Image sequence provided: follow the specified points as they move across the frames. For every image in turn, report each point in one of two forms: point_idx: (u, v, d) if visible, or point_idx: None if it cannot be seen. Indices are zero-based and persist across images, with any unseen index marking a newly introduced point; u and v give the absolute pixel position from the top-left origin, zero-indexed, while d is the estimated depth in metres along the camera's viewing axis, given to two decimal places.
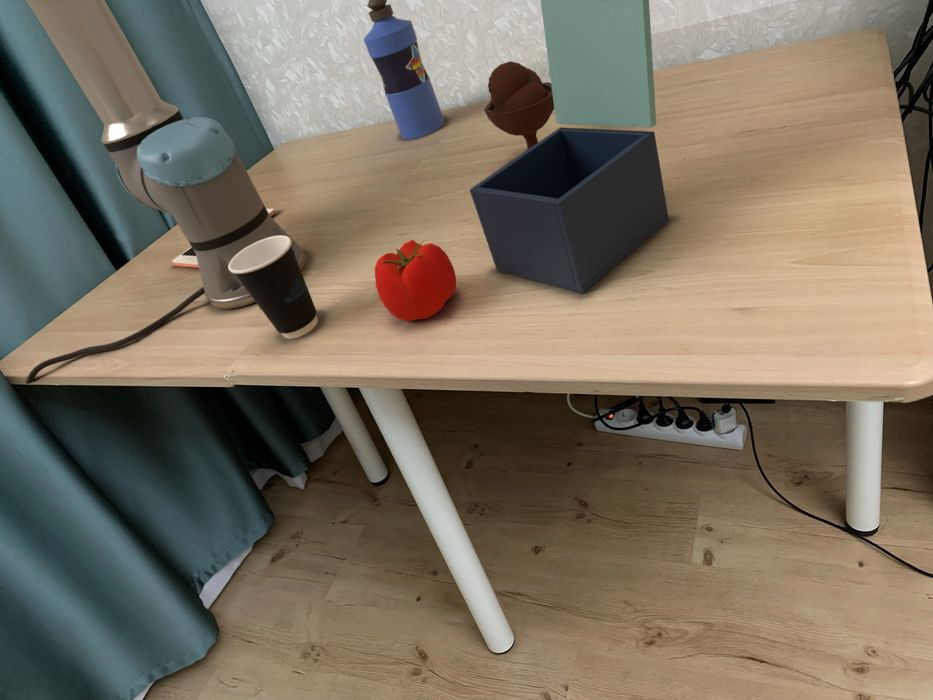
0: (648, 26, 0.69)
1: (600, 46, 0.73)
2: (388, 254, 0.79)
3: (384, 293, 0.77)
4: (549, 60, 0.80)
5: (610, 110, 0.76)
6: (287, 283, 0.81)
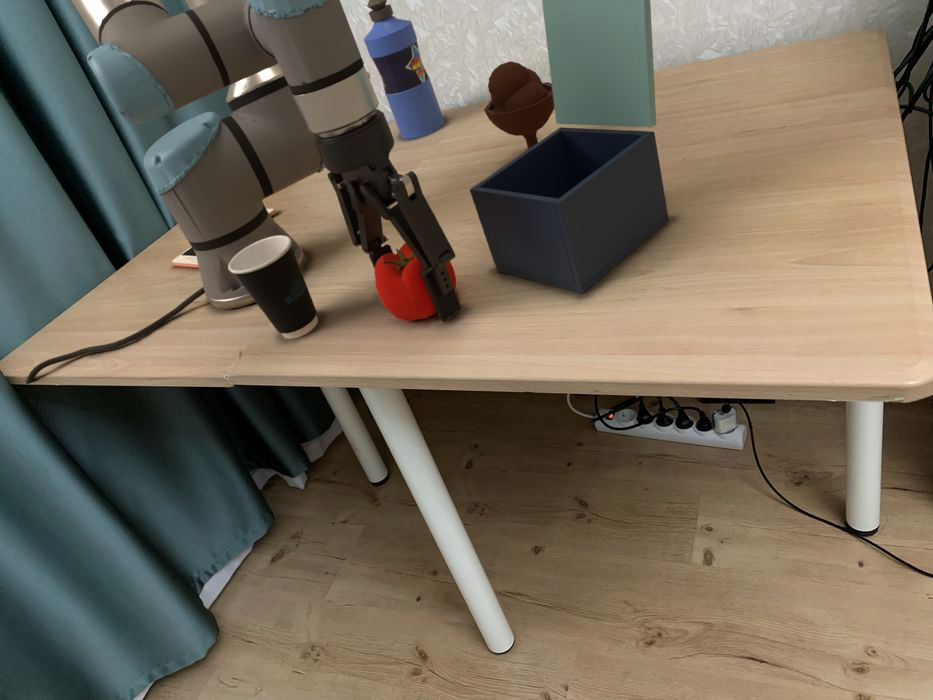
0: (649, 26, 0.69)
1: (601, 46, 0.74)
2: (388, 254, 0.79)
3: (384, 293, 0.77)
4: (550, 60, 0.80)
5: (610, 110, 0.76)
6: (287, 283, 0.81)
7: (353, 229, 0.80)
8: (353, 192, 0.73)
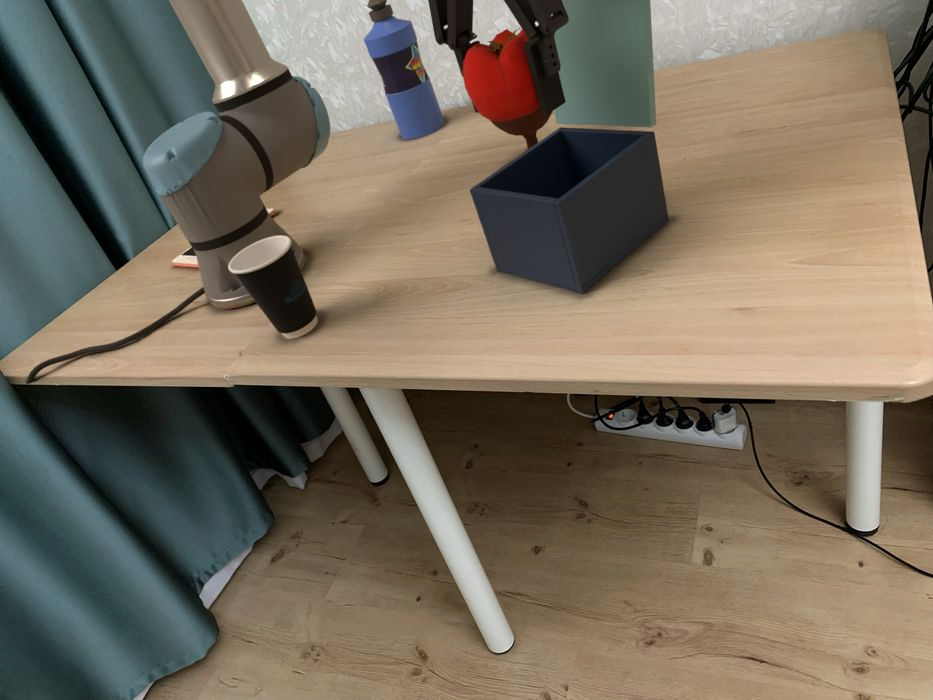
0: (649, 26, 0.69)
1: (601, 46, 0.74)
2: None
3: (477, 82, 0.67)
4: None
5: (610, 110, 0.76)
6: (287, 283, 0.81)
7: (439, 19, 0.70)
8: None
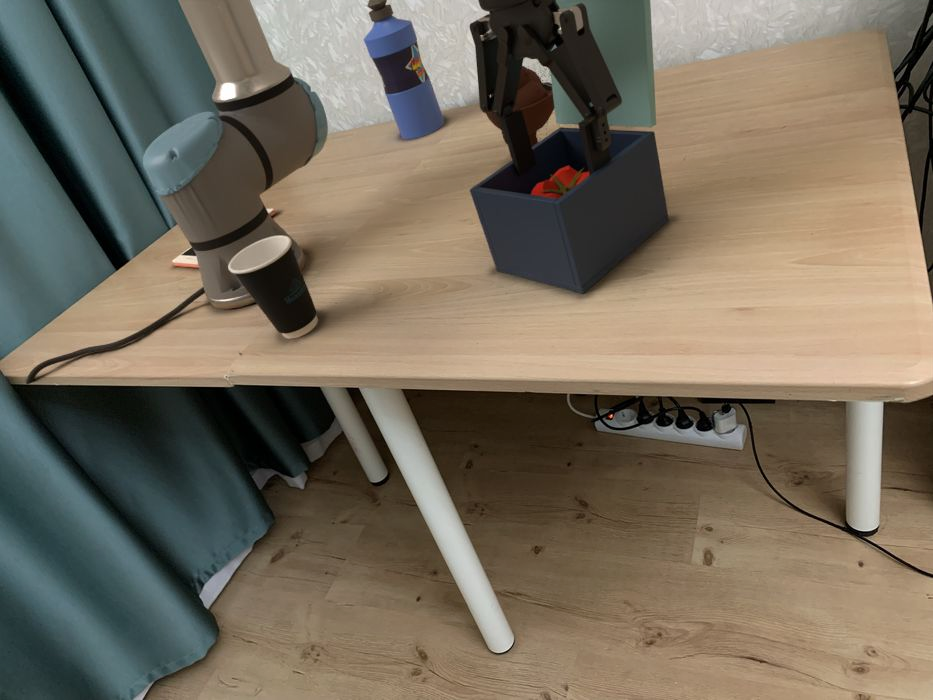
0: (649, 26, 0.69)
1: (601, 46, 0.74)
2: (546, 182, 0.77)
3: None
4: None
5: None
6: (287, 283, 0.81)
7: (486, 91, 0.76)
8: (506, 39, 0.68)
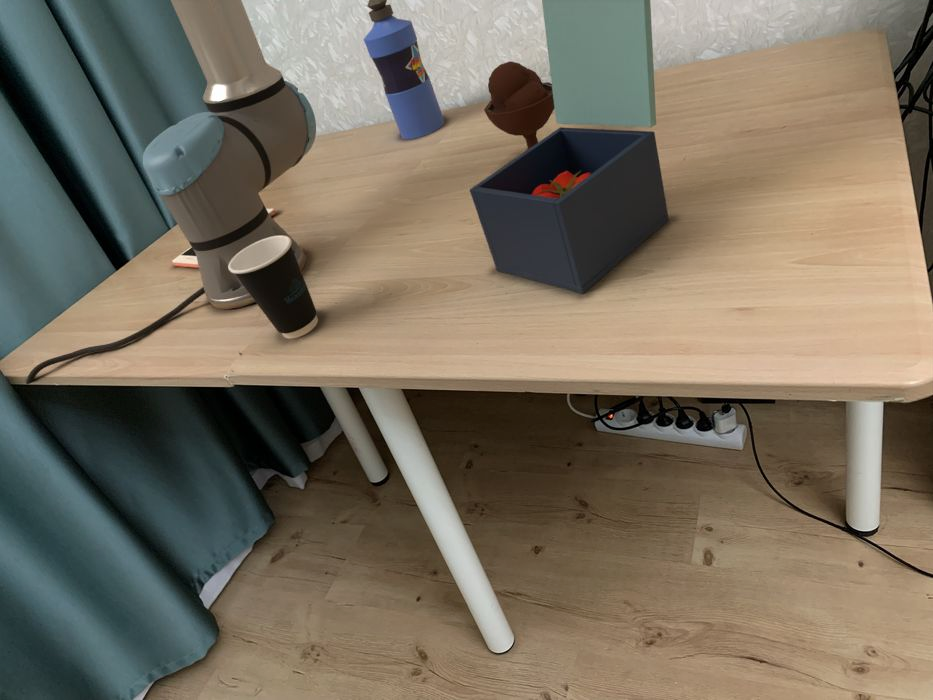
0: (649, 26, 0.69)
1: (601, 46, 0.74)
2: (544, 184, 0.79)
3: None
4: (550, 60, 0.80)
5: (610, 110, 0.76)
6: (287, 283, 0.81)
7: None
8: None
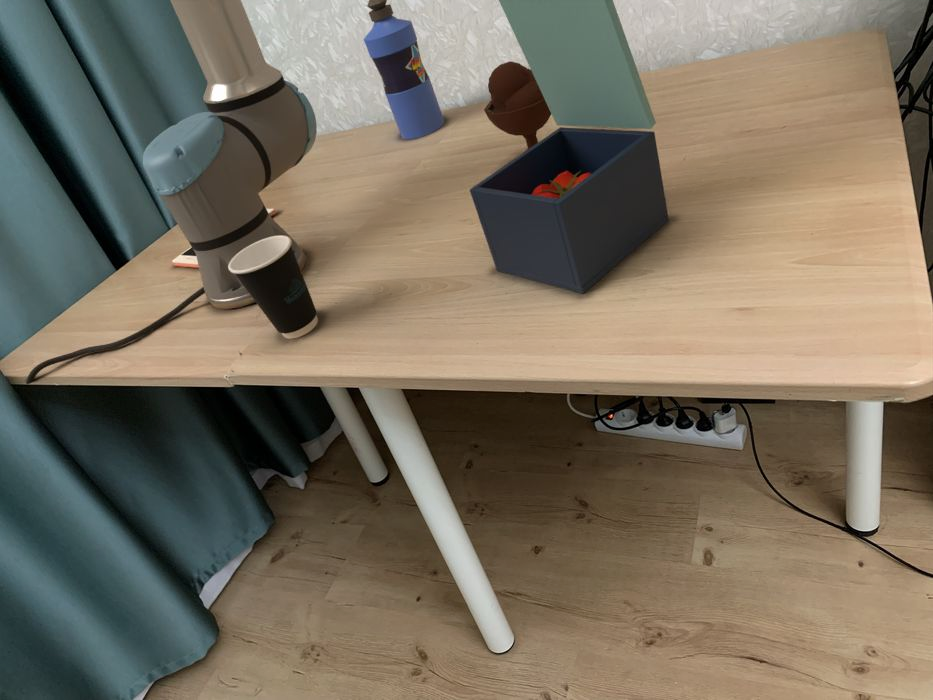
0: (625, 42, 0.67)
1: (581, 62, 0.72)
2: (544, 184, 0.79)
3: None
4: (533, 73, 0.79)
5: (607, 115, 0.76)
6: (287, 283, 0.81)
7: None
8: None
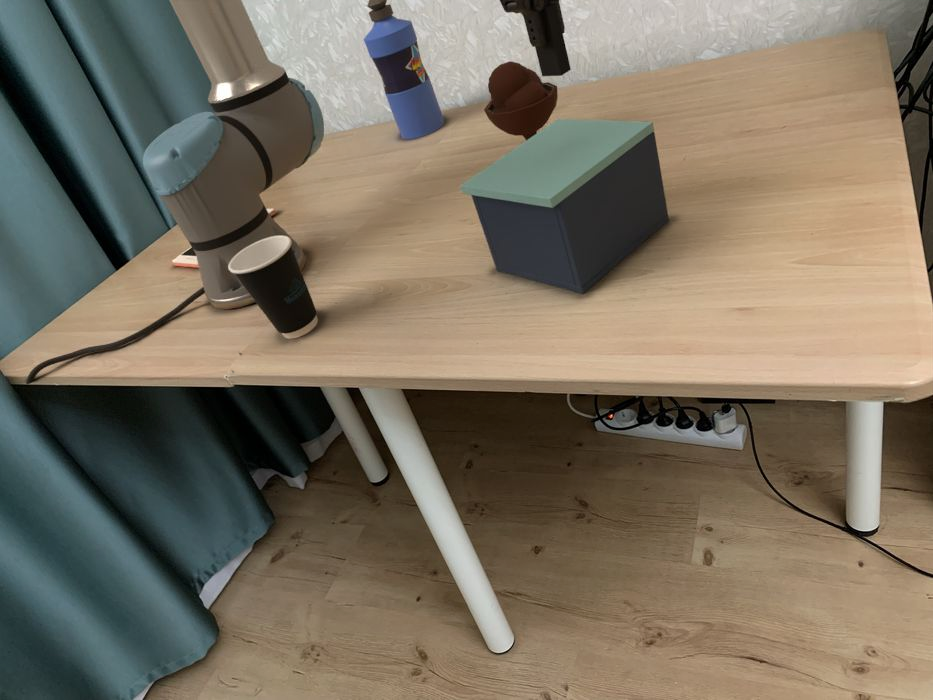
0: (595, 168, 0.69)
1: None
2: None
3: None
4: None
5: None
6: (287, 283, 0.81)
7: None
8: None
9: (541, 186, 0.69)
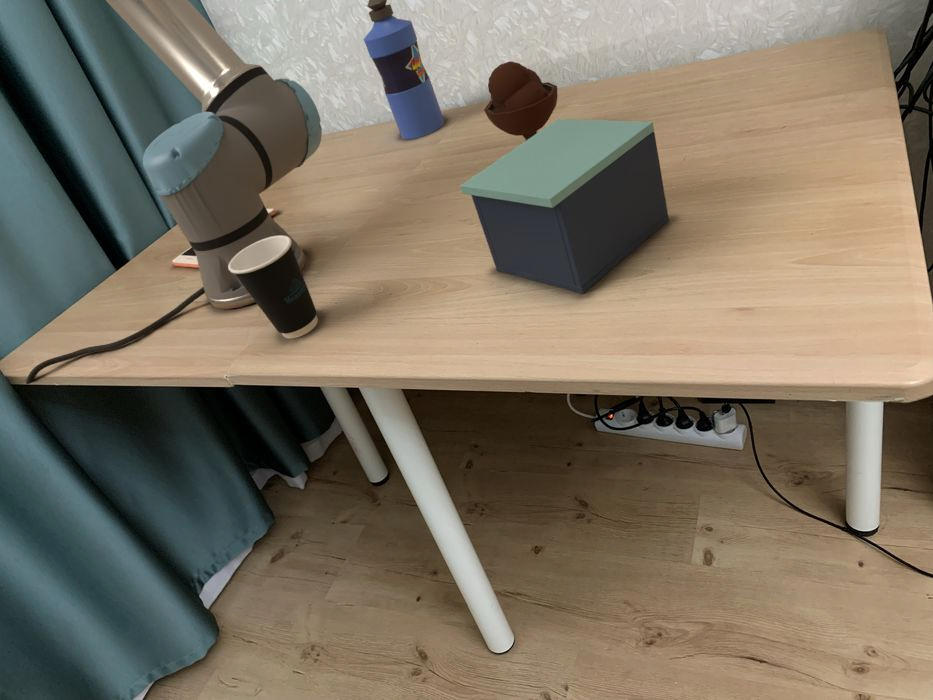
0: (595, 168, 0.69)
1: None
2: None
3: None
4: None
5: None
6: (287, 283, 0.81)
7: None
8: None
9: (541, 186, 0.69)
